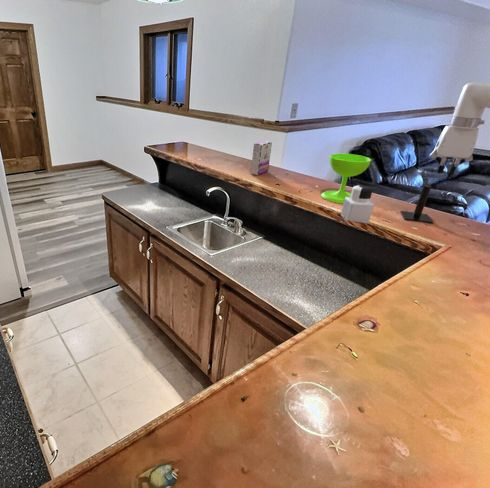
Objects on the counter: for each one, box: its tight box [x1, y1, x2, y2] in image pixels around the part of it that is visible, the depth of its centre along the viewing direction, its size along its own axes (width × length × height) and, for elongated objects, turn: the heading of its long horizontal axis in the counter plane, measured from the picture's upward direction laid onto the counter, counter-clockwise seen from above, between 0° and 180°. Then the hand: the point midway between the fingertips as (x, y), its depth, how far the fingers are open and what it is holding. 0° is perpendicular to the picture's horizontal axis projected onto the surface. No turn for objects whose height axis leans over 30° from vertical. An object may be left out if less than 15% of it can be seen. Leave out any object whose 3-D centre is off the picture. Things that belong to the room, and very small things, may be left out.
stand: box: [400, 184, 434, 225], centre depth 131 cm, size 9×9×14 cm
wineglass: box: [320, 153, 372, 205], centre depth 152 cm, size 16×16×18 cm
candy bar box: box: [250, 140, 273, 176], centre depth 188 cm, size 11×5×16 cm, turn 136°
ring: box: [416, 167, 449, 179], centre depth 126 cm, size 9×9×2 cm
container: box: [340, 184, 375, 224], centre depth 130 cm, size 8×8×13 cm
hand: (443, 176), depth 125 cm, fingers closed on ring, 2 cm apart
